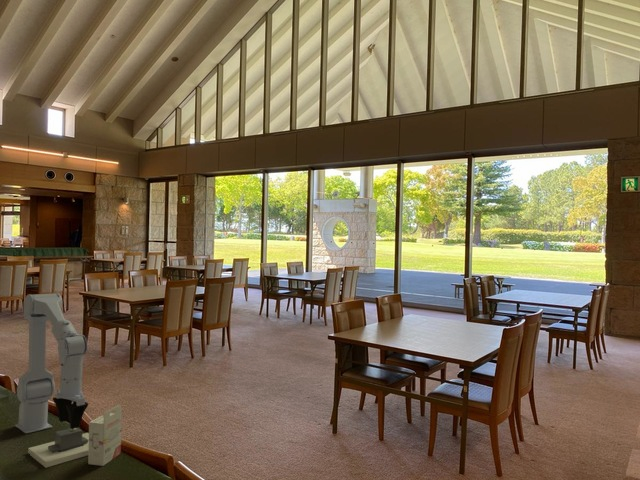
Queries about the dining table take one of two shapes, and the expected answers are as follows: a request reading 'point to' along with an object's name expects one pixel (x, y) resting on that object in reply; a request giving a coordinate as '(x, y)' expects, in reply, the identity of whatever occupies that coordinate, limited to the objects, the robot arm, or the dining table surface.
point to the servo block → (68, 440)
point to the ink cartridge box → (105, 437)
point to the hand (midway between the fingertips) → (69, 424)
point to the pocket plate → (58, 453)
